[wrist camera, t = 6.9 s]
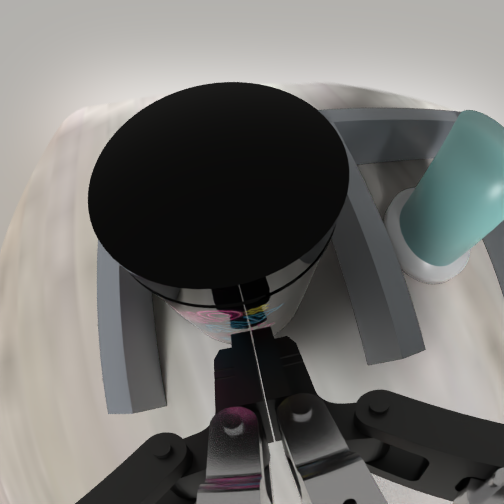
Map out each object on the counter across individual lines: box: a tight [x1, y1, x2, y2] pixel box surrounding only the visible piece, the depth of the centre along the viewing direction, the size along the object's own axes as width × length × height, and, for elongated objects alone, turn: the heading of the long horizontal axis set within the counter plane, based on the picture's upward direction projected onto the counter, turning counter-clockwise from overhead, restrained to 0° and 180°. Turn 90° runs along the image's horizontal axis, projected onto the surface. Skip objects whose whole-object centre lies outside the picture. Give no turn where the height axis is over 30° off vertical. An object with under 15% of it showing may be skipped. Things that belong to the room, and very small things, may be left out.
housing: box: [97, 108, 504, 414], centre depth 13 cm, size 14×26×9 cm, turn 101°
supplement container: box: [88, 82, 349, 344], centre depth 12 cm, size 7×7×10 cm
